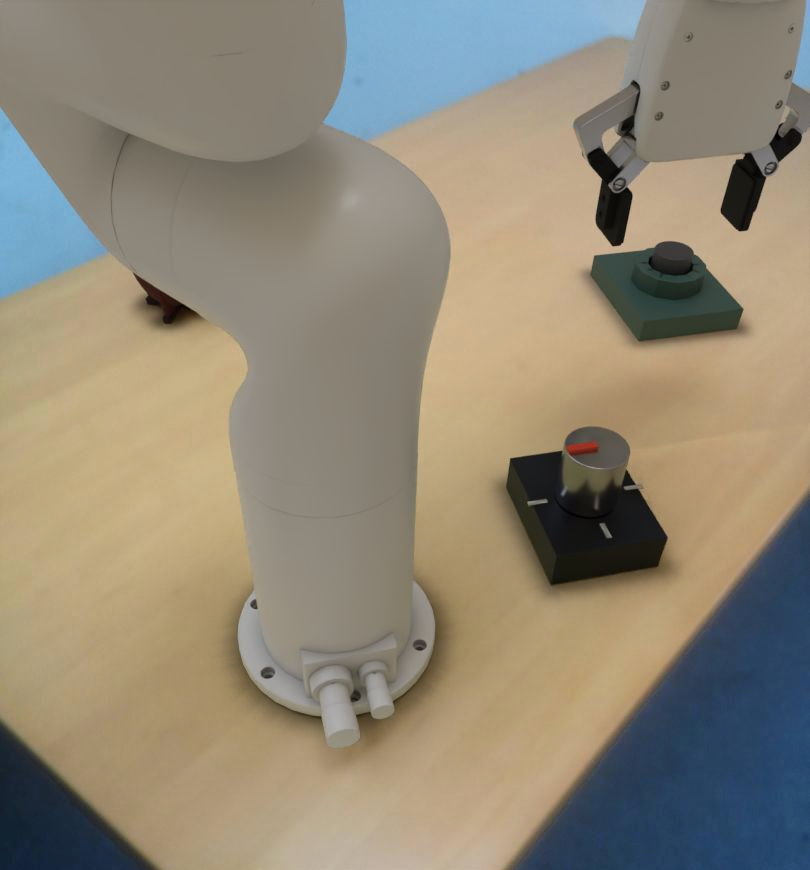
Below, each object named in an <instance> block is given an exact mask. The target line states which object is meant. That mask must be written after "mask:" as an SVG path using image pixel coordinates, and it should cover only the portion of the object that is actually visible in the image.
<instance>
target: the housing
mask: <svg viewBox="0 0 810 870" xmlns="http://www.w3.org/2000/svg"><path fill="white" fill-rule="evenodd" d="M654 248H655V246H654V247H648V248H646V249H641V250H640V249H639V250H632V251H622V252H613V253H604V254H603V253H602V254H594V255H593V259H592V264H591V270H590V277H591V278H592V279H593V281H594V283H596V285H597V286H598V287H599V289H600V290H601V292H602V293H603V295H604V296H605V297H606V299H607V300H608V301H609V303H610V304H611V305H612V307H613V308H614V309H615V311H616V312H617V314H618V315H619V317H620V318H621V319H622V321H623V322H624V323H625V324H626V326H627V328H628V329H629V331H631V333H632V335H634V337H635V338H636V340H637V341H638V342H643V341H653V340H658V339H667V338H668V339H669V338H675V337H682V336H683V337H684V336H691V335H698V334H708V333H714V332H722V331H723V332H724V331H731V330H737V329H738V326H739V324H740V321H741V318H742V315H743V312H744V307H743V306H742V305H741V304H740V303H739V302H738V301H737V300H736V298H734V296H732V294H731V293H730V292H729V290H728V289H726V287H724V286H723V284H721V282H720V281H719V280H718V279H717V278H716V277H715V276H714V275H713V273H711V271H710V270H709V269H708V268H707V264H706V263H705V262H704V261H703V260H702V259H701V257H700V256H698V255H697V254H695V253H694V255H693V259H692V262H691V266H690V269H689V272H688V273H687V274H686V275H678V276H673V275H667V274H662V273H660V272H658V271H656V270H654V269H652V268H651V260H652V256H653V252H654Z"/></svg>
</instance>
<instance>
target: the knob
mask: <svg viewBox="0 0 810 870" xmlns="http://www.w3.org/2000/svg"><path fill="white" fill-rule="evenodd" d="M561 451H562V457H561V462H560V467H559V472H558V477H557V482H556V487H555V496H556V499H557V501H558V503H559V504H560V505H561V506H562V507H563V508H564V509H566V510H567V511H569V512H571V513H573V514H576V515H579V516H583V517H599V516H603V515H605V514H607V513H609V512H611V511H612V510H613V509H614V507H615V506H616V504H617V501H618V497H619V493H620V490H621V486H622V482H623V479H624V475H625V471H626V469H627V468H628V464H629V460H630V457H631V447H630V445H629V443H628V441H627V439H626V438H624V437H623V436H622V435H621V434H620V433H618V432H616V431H614V430H611V429H609V428H606V427H602V426H589V425H588V426H582V427H579V428H576V429H574V430H572V431H570V433H568V435H566V437H565V438H564V443H563V447H562V450H561Z"/></svg>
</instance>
